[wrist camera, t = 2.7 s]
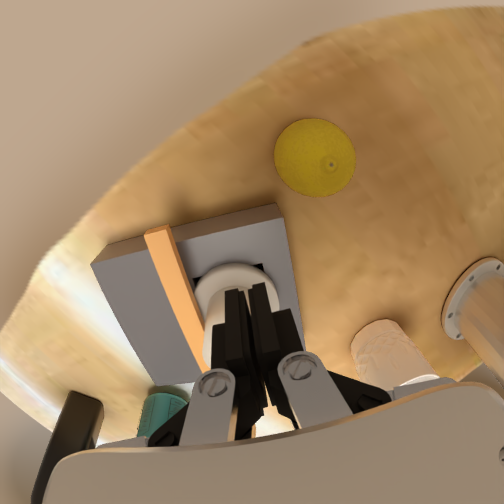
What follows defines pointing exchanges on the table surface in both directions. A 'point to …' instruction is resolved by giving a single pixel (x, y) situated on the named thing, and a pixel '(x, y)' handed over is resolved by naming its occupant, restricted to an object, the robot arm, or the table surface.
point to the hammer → (177, 288)
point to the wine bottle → (69, 437)
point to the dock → (195, 265)
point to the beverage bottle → (158, 412)
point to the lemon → (314, 157)
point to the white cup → (388, 357)
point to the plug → (213, 295)
